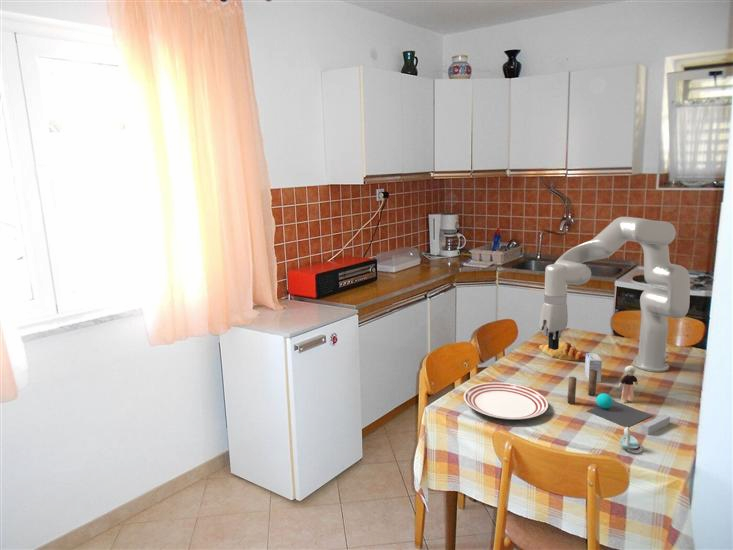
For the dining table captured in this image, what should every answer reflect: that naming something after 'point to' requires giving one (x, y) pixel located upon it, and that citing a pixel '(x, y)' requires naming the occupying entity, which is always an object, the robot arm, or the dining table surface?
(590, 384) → the post near arm
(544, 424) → the dining table surface
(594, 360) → the medicine box
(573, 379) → the post far
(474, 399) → the dinner plate
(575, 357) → the croissant
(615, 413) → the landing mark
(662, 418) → the wall
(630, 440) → the pacifier
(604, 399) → the ball
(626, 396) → the grandmother figurine
